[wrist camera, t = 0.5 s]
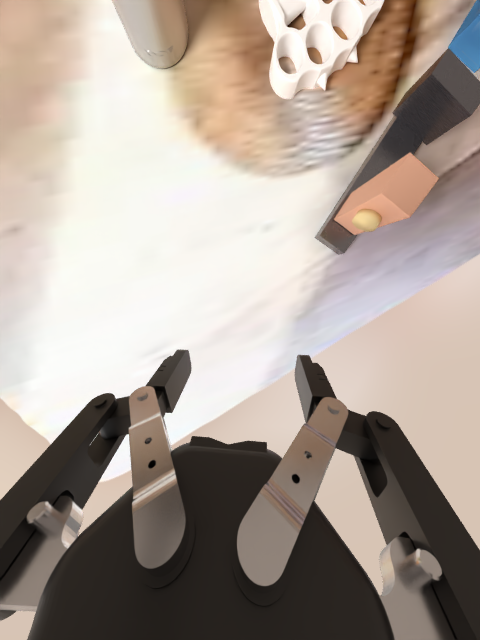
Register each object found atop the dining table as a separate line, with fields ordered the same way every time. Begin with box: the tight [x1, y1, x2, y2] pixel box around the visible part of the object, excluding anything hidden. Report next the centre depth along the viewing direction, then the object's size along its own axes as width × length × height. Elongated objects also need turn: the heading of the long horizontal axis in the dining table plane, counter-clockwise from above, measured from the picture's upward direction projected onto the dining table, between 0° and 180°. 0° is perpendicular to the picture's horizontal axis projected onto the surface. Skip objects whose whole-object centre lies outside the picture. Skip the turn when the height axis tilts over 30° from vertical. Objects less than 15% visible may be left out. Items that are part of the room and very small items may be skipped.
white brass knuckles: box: [259, 0, 384, 99], centre depth 27 cm, size 3×18×15 cm
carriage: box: [334, 153, 439, 235], centre depth 28 cm, size 6×5×11 cm
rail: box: [315, 48, 480, 254], centre depth 30 cm, size 24×8×8 cm, turn 149°
